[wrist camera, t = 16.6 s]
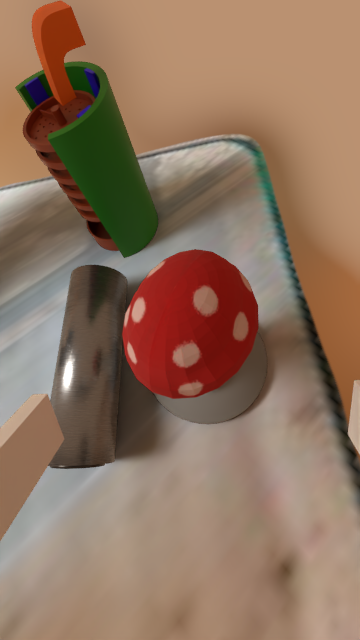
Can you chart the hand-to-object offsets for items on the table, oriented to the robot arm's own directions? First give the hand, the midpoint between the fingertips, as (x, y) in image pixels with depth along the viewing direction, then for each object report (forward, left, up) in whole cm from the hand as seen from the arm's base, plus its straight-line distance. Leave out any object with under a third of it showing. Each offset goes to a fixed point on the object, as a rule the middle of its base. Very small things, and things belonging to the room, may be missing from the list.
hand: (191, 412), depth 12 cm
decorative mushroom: (-1, +6, -14) cm, 16 cm away
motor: (-10, +25, -15) cm, 31 cm away
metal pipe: (-11, +6, -15) cm, 20 cm away
